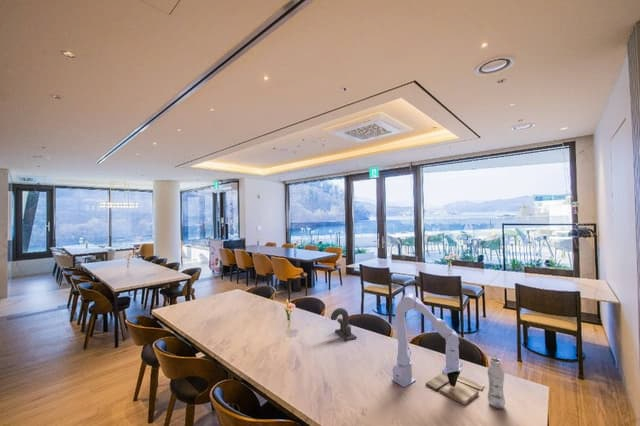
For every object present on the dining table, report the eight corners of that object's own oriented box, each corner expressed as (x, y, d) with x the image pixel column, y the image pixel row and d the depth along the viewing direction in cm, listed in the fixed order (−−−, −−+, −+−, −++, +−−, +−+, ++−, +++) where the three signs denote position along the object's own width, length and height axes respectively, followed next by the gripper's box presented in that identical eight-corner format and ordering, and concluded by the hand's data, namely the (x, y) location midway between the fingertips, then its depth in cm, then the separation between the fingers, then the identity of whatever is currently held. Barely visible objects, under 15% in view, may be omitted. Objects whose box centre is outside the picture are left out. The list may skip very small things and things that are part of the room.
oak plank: (464, 404, 120) (464, 401, 120) (439, 391, 130) (439, 389, 130) (478, 393, 128) (478, 390, 128) (453, 382, 138) (453, 379, 138)
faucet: (325, 333, 198) (325, 305, 199) (344, 329, 205) (343, 302, 205) (337, 343, 182) (337, 313, 182) (357, 339, 188) (357, 310, 189)
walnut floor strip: (436, 391, 131) (436, 388, 131) (425, 385, 136) (425, 382, 136) (452, 381, 139) (452, 378, 139) (441, 375, 144) (441, 373, 144)
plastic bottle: (498, 400, 124) (497, 356, 124) (509, 410, 117) (507, 363, 117) (484, 400, 124) (483, 356, 124) (494, 411, 117) (493, 364, 117)
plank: (481, 392, 131) (481, 389, 131) (455, 381, 139) (455, 379, 139) (484, 387, 134) (484, 385, 134) (458, 377, 143) (458, 375, 143)
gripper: (452, 365, 124) (452, 395, 124) (468, 356, 133) (468, 384, 132) (437, 358, 130) (438, 387, 130) (454, 350, 138) (454, 377, 138)
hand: (452, 385), depth 131 cm, fingers closed
